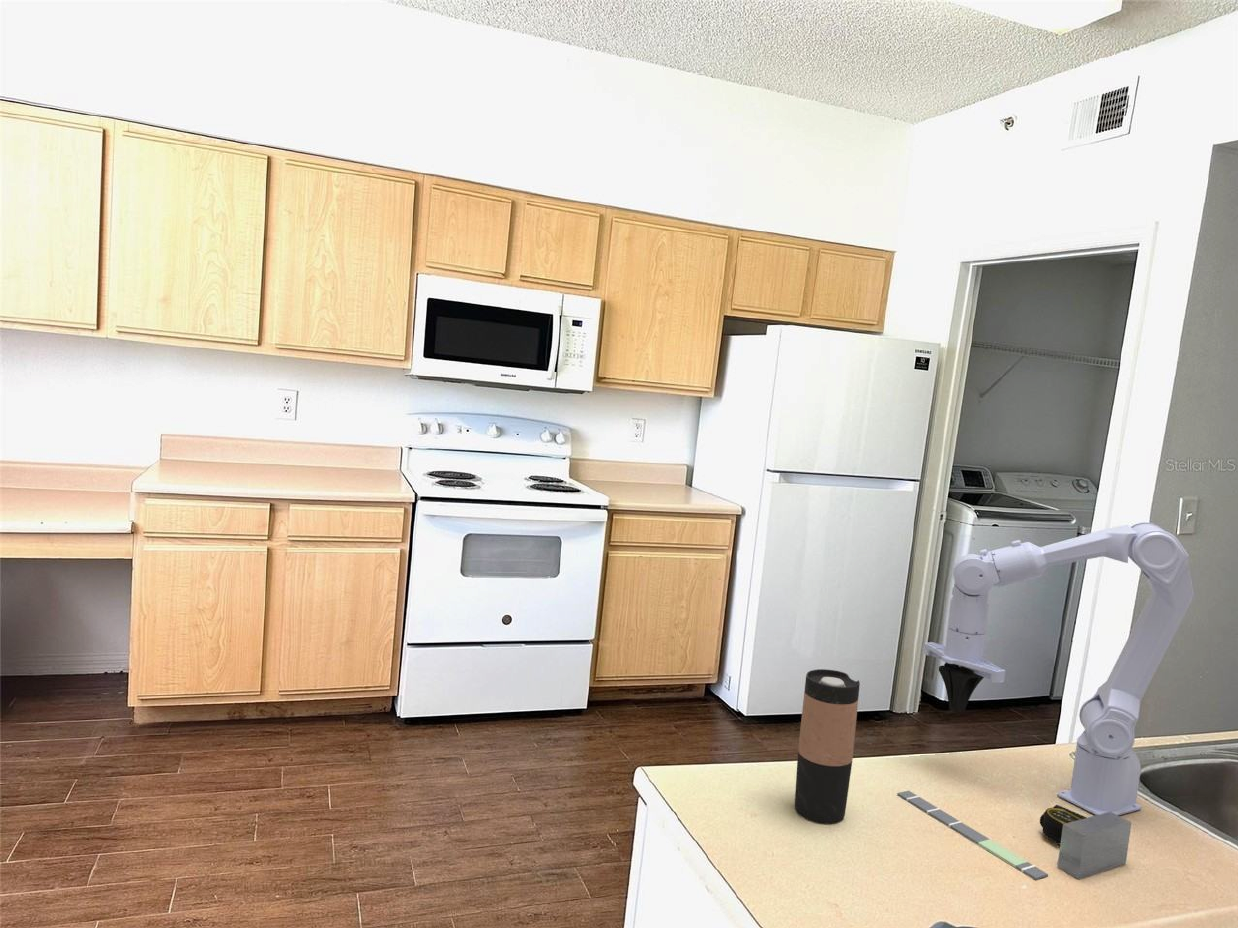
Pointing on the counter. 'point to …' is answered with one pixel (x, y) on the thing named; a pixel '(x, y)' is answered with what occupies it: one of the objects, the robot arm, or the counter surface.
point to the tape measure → (1057, 821)
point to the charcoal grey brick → (1094, 845)
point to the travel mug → (826, 745)
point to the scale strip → (975, 836)
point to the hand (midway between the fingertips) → (956, 710)
